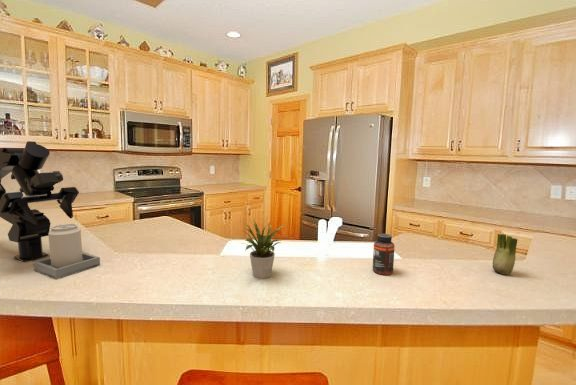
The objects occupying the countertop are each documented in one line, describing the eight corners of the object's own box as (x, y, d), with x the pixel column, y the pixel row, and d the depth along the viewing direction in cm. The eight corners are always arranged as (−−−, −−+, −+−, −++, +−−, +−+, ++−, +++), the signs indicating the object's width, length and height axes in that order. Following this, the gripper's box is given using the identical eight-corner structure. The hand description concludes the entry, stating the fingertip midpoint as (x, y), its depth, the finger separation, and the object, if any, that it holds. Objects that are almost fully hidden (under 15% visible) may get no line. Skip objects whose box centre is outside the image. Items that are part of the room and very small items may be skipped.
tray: (34, 270, 86) (33, 262, 86) (78, 258, 96) (77, 250, 96) (56, 279, 81) (55, 270, 81) (100, 265, 91) (99, 257, 91)
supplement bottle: (394, 270, 93) (396, 234, 91) (391, 277, 87) (394, 239, 86) (373, 266, 95) (376, 231, 94) (370, 273, 90) (372, 236, 88)
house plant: (222, 279, 83) (222, 221, 81) (246, 262, 96) (246, 212, 94) (270, 289, 78) (271, 227, 76) (288, 269, 91) (290, 216, 89)
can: (65, 272, 84) (61, 229, 83) (44, 268, 86) (40, 227, 84) (89, 262, 91) (86, 223, 90) (69, 259, 93) (66, 221, 92)
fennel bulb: (515, 277, 89) (520, 238, 88) (497, 275, 90) (501, 236, 89) (505, 270, 95) (510, 232, 93) (488, 268, 96) (492, 231, 94)
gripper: (-2, 163, 80) (26, 208, 77) (73, 161, 97) (98, 198, 94) (-13, 190, 85) (12, 234, 82) (60, 184, 101) (83, 220, 98)
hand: (55, 220), depth 89 cm, fingers open, 9 cm apart
